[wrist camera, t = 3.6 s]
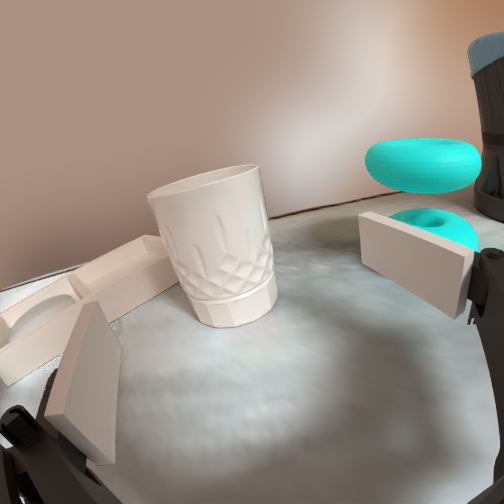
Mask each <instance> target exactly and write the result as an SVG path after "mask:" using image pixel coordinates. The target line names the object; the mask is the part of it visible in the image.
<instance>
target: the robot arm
mask: <svg viewBox="0 0 504 504" xmlns="http://www.w3.org/2000/svg"><path fill="white" fill-rule="evenodd" d="M468 58H469V63H470V68H471V78H472V79H473V80H474V84H475V90H476V95H477V101H478V108H479V115H480V122H481V131H482V141H483V152H482V156H481V163H482V166H481V171H480V174H479V176H478V177H477V179H476V181H475V185H474V205H475V207H476V208H477V209H478V210H480V211H481V212H483V213H484V214H486V215H488V216H490V217H493V218H495V219H498V220H501V221H504V32H497V33H491V34H487V35H484V36H482V37H479V38H478V39H476V40H474V41H473V42H472V43H471V44H470V45H469V47H468ZM358 219H359V230H360V243H361V258H362V263H363V264H365V265H366V266H368V267H370V268H371V269H373V270H375V271H377V272H378V273H380V274H382V275H383V276H385V277H387V278H388V279H390V280H392V281H393V282H395V283H397V284H398V285H400V286H402V287H403V288H405V289H407V290H408V291H410V292H411V293H413V294H415V295H416V296H418V297H420V298H421V299H423V300H424V301H426V302H428V303H429V304H431V305H432V306H434V307H436V308H437V309H439V310H440V311H442V312H443V313H445V314H447V315H448V316H450V317H451V318H453V319H454V320H455V319H456V318H457V317H458V316H459V315H461V314H462V313H463V312H464V311H465V307H466V302H467V298H468V299H469V300H471V301H472V305H471V309H470V313H469V318H468V325H470V322H471V319H472V318H474V322H473V324H476V325H477V329H478V332H479V335H480V338H481V342H482V345H483V349H484V353H485V356H486V360H487V364H488V368H489V373H490V377H491V382H492V387H493V392H494V397H495V403H496V410H497V417H498V424H499V434H500V450H499V453H498V456H497V458H496V461H495V465H494V479H493V484H492V485H491V486H490V487H489V488H487V489H486V490H485V491H483V492H482V493H481V494H479V495H478V496H477V497H475V498H474V499H472V500H471V501H469V502H468V503H467V504H504V252H503V251H502V250H499V249H496V248H485V249H483V250H481V252H480V253H478V252H476V251H474V250H473V249H471V248H468V247H466V246H463V245H461V244H458V243H456V242H453V241H451V240H448V239H446V238H443V237H441V236H438V235H436V234H433V233H430V232H428V231H425V230H422V229H419V228H417V227H414V226H411V225H408V224H406V223H403V222H400V221H397V220H394V219H391V218H388V217H385V216H382V215H379V214H376V213H373V212H370V211H368V212H365V213H362V214H359V215H358ZM121 356H122V346H121V344H120V342H119V341H118V339H117V337H116V335H115V333H114V332H113V330H112V328H111V326H110V324H109V322H108V320H107V318H106V316H105V315H104V313H103V311H102V309H101V307H100V305H99V303H98V300H96V301H93V302H90V303H87V304H84V305H83V307H82V309H81V311H80V314H79V316H78V318H77V321H76V323H75V326H74V328H73V331H72V333H71V336H70V338H69V341H68V343H67V346H66V348H65V351H64V354H63V357H62V359H61V362H60V365H59V368H57V369H55V370H54V371H53V373H52V374H51V376H50V377H49V378H48V381H47V384H46V387H45V389H46V390H44V393H43V398H42V400H41V403H40V406H39V409H38V413H37V416H36V420H35V419H34V418H33V417H32V416H31V414H30V413H29V412H28V411H27V410H26V409H25V408H24V407H23V406H21V405H16V406H13V407H11V408H9V409H8V410H7V411H6V412H5V413H4V414H3V416H2V417H1V419H0V433H1V434H2V435H3V436H4V437H5V438H6V439H7V440H8V441H9V442H10V443H11V444H12V445H13V447H10V448H8V449H5V448H4V447H3V446H2V445H1V444H0V504H23V503H22V501H21V499H20V496H21V497H22V498H24V501H25V504H122V503H121V502H120V501H119V500H118V499H117V498H116V497H115V496H114V495H113V494H112V493H111V491H110V490H109V489H108V488H107V487H106V486H105V485H104V484H103V483H102V482H101V481H100V480H99V478H98V477H97V476H96V475H95V474H94V473H93V472H92V471H91V470H90V469H89V468H88V467H86V459H87V458H88V459H89V460H90V461H92V462H93V463H94V464H95V465H97V466H100V465H110V464H116V415H117V398H118V385H119V374H120V364H121Z"/></svg>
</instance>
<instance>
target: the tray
mask: <svg viewBox="0 0 504 504" xmlns="http://www.w3.org/2000/svg"><path fill="white" fill-rule="evenodd" d="M178 282H179V279H178V277H177V275H176V273H175V270H174V268H173V266H172V264H171V261H170V259H169V256H168V254H167V251H166V249H165V246H164V243H163V241H162V238H161V237H157V236H151V235H143V236H141V237H139V238H137V239H135V240H133V241H131V242H129V243H127V244H125V245H123V246H121V247H119V248H117V249H115V250H113V251H111V252H109V253H107V254H105V255H103V256H101V257H99V258H97V259H95V260H93V261H91V262H89V263H87V264H86V265H84V266H82V267H80V268H78V269H76V270H74V271H72V272H71V273H69V274H67V275H65V276H63V277H61V278H60V279H58V280H56V281H54V282H52V283H51V284H49V285H47V286H45V287H44V288H42V289H40V290H38V291H37V292H35V293H33V294H32V295H30V296H28V297H26V298H25V299H23V300H21V301H20V302H18V303H16V304H15V305H13V306H11V307H10V308H8V309H7V310H5V311H3V312H2V313H0V377H1V378H2V380H3V381H4V382H5V383H6V385H7V386H8V387H9V386H10V385H12V384H14V383H15V382H17V381H18V380H20V379H21V378H23V377H25V376H26V375H28V374H29V373H31V372H32V371H34V370H36V369H37V368H39V367H40V366H42V365H44V364H45V363H47V362H48V361H50V360H52V359H53V358H55V357H56V356H58V355H60V354H61V353H63V352H64V351H65V348H66V346H67V343H68V341H69V338H70V336H71V333H72V331H73V328H74V326H75V323H76V321H77V318H78V316H79V314H80V311H81V309H82V307H83V305H84V304H87V303H90V302H93V301H96V300H98V303H99V305H100V307H101V309H102V311H103V313H104V315H105V316H106V318H107V320H108V322H109V324H110V323H111V322H113V321H115V320H116V319H118V318H120V317H121V316H123V315H125V314H126V313H128V312H130V311H131V310H133V309H134V308H136V307H138V306H139V305H141V304H143V303H144V302H146V301H148V300H149V299H151V298H153V297H154V296H156V295H158V294H159V293H161V292H163V291H164V290H166V289H168V288H169V287H171V286H173V285H174V284H176V283H178ZM63 294H67V295H70V296H72V298H73V300H74V302H75V304H73V305H71V306H70V307H68V308H66V309H65V310H63V311H61V312H59V313H58V314H56V315H54V316H53V317H51V318H49V319H48V320H46V321H44V322H43V323H41V324H39V325H38V326H36V327H34V328H33V329H31V330H30V331H28V332H26V333H25V334H23V335H21V336H20V337H18V338H17V339H15V340H13V341H12V342H11V341H10V340H9V337H8V336H9V332H10V329H11V328H12V326H13V325H14V323H15V322H16V321H17V320H18V319H19V318H20V317H21V316H22V315H23V314H24V313H25V312H27V311H28V310H29V309H31V308H32V307H34V306H35V305H37V304H39V303H40V302H42V301H44V300H46V299H49V298H51V297H54V296H57V295H63Z"/></svg>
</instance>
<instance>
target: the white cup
mask: <svg viewBox="0 0 504 504" xmlns="http://www.w3.org/2000/svg"><path fill="white" fill-rule="evenodd" d="M147 200H148V203H149V205H150V208H151V211H152V214H153V216H154V219H155V222H156V225H157V227H158V230H159V233H160V235H161V238H162V241H163V243H164V246H165V249H166V251H167V254H168V256H169V259H170V261H171V264H172V266H173V268H174V270H175V273H176V275H177V277H178V279H179V281H180V284H181V286H182V288H183V290H184V291H185V292H186V294H187V296H188V299H189V301H190V303H191V306H192V308H193V310H194V312H195V314H196V316H197V317H198V319H199V320H200V322H201V323H204V324H206V325H209V326H212V327H215V328H227V327H238V326H241V325H244V324H247V323H250V322H253V321H255V320H257V319H259V318H260V317H261V316H263V315H264V314H266V313H267V312H269V311H270V310H271V309H272V307H273V305H274V304H275V302H276V300H277V298H278V294H277V287H276V281H275V275H274V268H273V267H274V258H273V248H272V240H271V234H270V228H269V221H268V215H267V209H266V203H265V197H264V192H263V186H262V180H261V174H260V168H259V165H256V164H248V165H239V166H233V167H227V168H222V169H218V170H214V171H209V172H206V173H202V174H198V175H195V176H191V177H188V178H185V179H182V180H179V181H176V182H173V183H170V184H168V185H165V186H163V187H160V188H158V189H156V190H154V191H152V192H150V193H149V194H148V195H147Z"/></svg>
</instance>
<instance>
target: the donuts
mask: <svg viewBox="0 0 504 504" xmlns="http://www.w3.org/2000/svg"><path fill="white" fill-rule="evenodd" d="M365 163H366V167H367V170H368V172H369V173H370V175H371V176H372V177H373V178H374V179H375V180H377V181H378V182H379V183H381V184H383V185H385V186H387V187H389V188H392V189H396V190H400V191H405V192H411V193H428V194H433V193H446V192H452V191H457V190H460V189H462V188H465V187H467V186H468V185H470V184H472V183H473V182H474V181H475V180H476V179H477V177H478V176H479V174H480V171H481V166H482V163H481V158H480V155H479V153H478V151H477V150H476V148H475V147H474V146H472V145H471V144H469V143H467V142H464V141H460V140H453V139H438V138H412V139H398V140H390V141H383V142H379V143H377V144H374V145H373V146H371V147H370V148H369V150H368V151H367V154H366V157H365ZM388 218H391V219H394V220H397V221H400V222H403V223H406V224H408V225H411V226H414V227H417V228H419V229H422V230H425V231H428V232H430V233H433V234H436V235H438V236H441V237H443V238H446V239H448V240H451V241H453V242H456V243H458V244H461V245H463V246H466V247H468V248H471V249H473V250H474V251H476V252H478V251H479V241H478V237H477V234H476V232H475V230H474V229H473V227H472V226H471V225H470V224H469V223H468V222H467V221H466V220H464V219H463V218H461V217H460V216H458V215H456V214H453V213H451V212H448V211H444V210H438V209H428V208H421V209H411V210H406V211H402V212H399V213H396V214H394V215H392V216H390V217H388Z"/></svg>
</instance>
